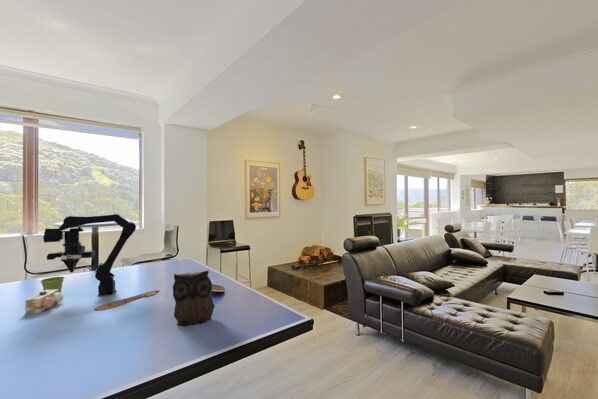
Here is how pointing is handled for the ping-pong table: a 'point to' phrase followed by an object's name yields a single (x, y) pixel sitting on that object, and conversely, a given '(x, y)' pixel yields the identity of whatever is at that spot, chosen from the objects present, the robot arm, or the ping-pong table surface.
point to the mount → (38, 301)
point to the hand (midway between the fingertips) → (72, 272)
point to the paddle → (124, 301)
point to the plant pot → (52, 283)
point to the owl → (192, 298)
